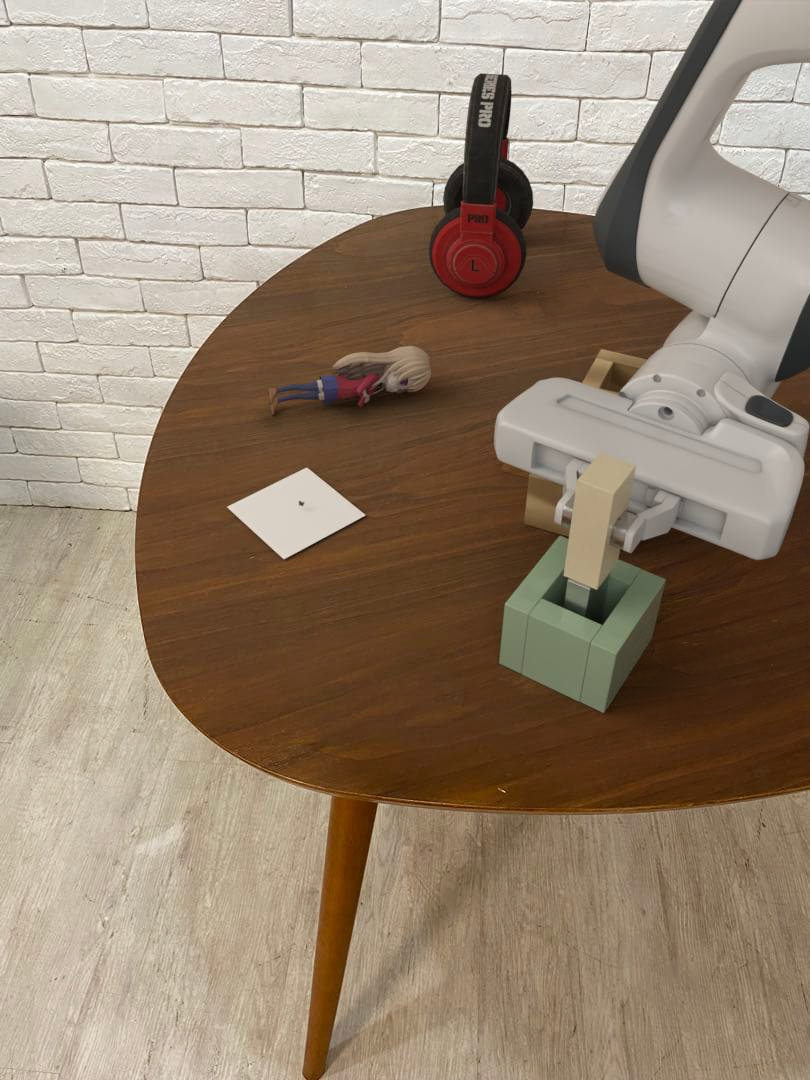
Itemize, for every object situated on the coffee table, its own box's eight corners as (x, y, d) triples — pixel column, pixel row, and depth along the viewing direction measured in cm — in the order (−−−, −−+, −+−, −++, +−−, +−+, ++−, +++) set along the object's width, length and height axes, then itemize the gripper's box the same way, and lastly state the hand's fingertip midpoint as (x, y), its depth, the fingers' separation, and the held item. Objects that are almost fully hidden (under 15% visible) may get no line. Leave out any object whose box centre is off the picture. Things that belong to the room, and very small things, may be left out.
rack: (594, 395, 97) (601, 348, 93) (675, 415, 94) (685, 368, 91) (523, 524, 84) (528, 475, 80) (616, 550, 81) (626, 501, 78)
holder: (652, 638, 74) (666, 578, 70) (603, 714, 70) (616, 654, 66) (551, 594, 78) (559, 534, 74) (498, 663, 73) (504, 603, 69)
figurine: (270, 402, 90) (439, 371, 92) (261, 358, 91) (427, 328, 93) (274, 431, 96) (433, 400, 98) (265, 389, 97) (422, 360, 99)
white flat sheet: (226, 507, 85) (225, 499, 84) (306, 467, 89) (306, 460, 88) (283, 559, 80) (283, 552, 80) (365, 515, 84) (365, 507, 83)
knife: (603, 641, 74) (637, 463, 63) (581, 674, 72) (612, 495, 61) (573, 627, 75) (601, 450, 64) (549, 659, 73) (575, 481, 62)
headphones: (520, 313, 107) (538, 115, 94) (424, 305, 109) (428, 109, 95) (530, 235, 120) (547, 51, 107) (444, 228, 121) (450, 46, 108)
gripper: (550, 337, 75) (450, 434, 67) (835, 430, 67) (763, 553, 59) (542, 409, 80) (447, 509, 71) (809, 504, 71) (739, 630, 63)
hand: (592, 530), depth 65 cm, fingers closed on knife, 2 cm apart
